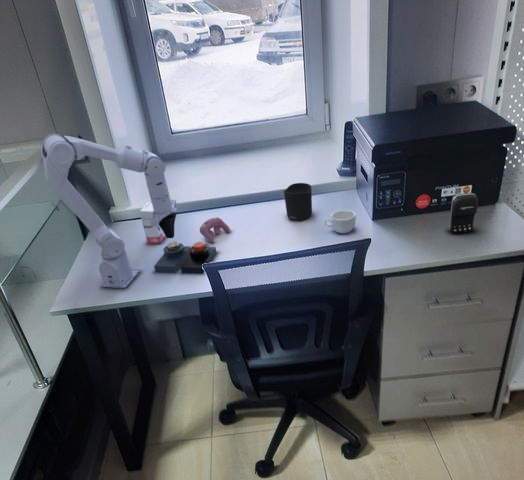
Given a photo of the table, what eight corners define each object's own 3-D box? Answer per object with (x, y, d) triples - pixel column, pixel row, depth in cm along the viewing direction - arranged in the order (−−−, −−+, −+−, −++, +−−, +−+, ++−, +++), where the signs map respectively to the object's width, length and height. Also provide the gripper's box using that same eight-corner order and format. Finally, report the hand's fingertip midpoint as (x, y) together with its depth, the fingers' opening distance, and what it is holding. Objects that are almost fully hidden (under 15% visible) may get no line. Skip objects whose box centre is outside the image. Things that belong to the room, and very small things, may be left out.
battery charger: (451, 235, 151) (455, 199, 144) (447, 230, 154) (452, 194, 147) (475, 233, 151) (480, 196, 143) (471, 227, 154) (476, 191, 146)
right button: (202, 252, 155) (201, 247, 154) (192, 252, 156) (191, 247, 155) (206, 246, 158) (205, 241, 157) (196, 246, 159) (195, 241, 158)
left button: (176, 251, 158) (175, 246, 157) (166, 251, 159) (165, 246, 158) (181, 246, 160) (179, 241, 159) (171, 246, 161) (169, 241, 160)
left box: (175, 272, 155) (172, 261, 152) (155, 272, 157) (152, 260, 154) (191, 252, 164) (188, 241, 162) (172, 251, 166) (169, 241, 164)
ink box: (161, 243, 172) (151, 211, 165) (147, 244, 173) (138, 211, 166) (169, 232, 178) (161, 200, 171) (156, 232, 180) (147, 201, 172)
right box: (202, 273, 152) (199, 262, 150) (181, 273, 154) (178, 261, 152) (216, 252, 162) (214, 241, 159) (197, 252, 164) (194, 241, 161)
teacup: (354, 223, 165) (354, 208, 162) (357, 234, 159) (356, 218, 156) (324, 226, 166) (323, 211, 163) (325, 237, 160) (324, 221, 157)
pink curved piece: (224, 233, 175) (214, 215, 173) (232, 230, 172) (222, 211, 170) (205, 245, 170) (194, 227, 168) (212, 242, 166) (202, 223, 164)
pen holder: (282, 214, 178) (279, 187, 172) (307, 208, 180) (305, 180, 174) (291, 224, 171) (289, 196, 165) (317, 217, 173) (315, 189, 166)
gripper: (161, 205, 142) (172, 248, 151) (181, 185, 153) (190, 226, 161) (139, 205, 144) (152, 248, 153) (160, 186, 155) (171, 226, 163)
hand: (170, 237), depth 157 cm, fingers closed
